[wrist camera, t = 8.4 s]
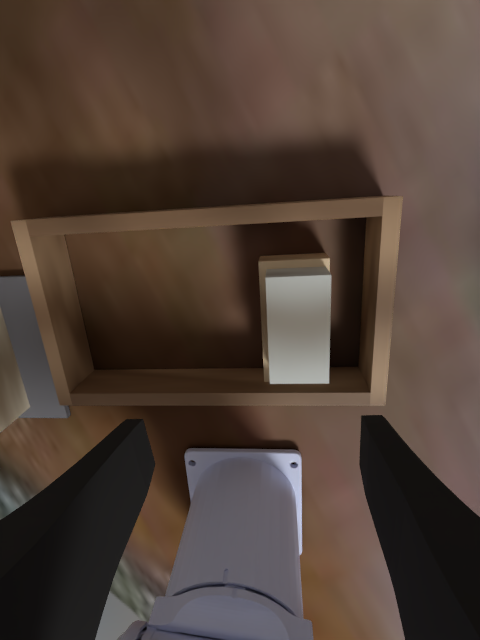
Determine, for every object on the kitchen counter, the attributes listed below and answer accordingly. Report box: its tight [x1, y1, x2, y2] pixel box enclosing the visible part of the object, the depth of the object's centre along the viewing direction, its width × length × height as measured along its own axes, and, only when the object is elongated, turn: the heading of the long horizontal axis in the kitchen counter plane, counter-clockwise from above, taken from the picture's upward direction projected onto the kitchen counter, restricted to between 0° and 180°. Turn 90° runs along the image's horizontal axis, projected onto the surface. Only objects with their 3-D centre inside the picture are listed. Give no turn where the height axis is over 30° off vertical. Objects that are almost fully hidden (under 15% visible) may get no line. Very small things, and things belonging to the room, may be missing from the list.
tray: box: [11, 196, 403, 406], centre depth 20 cm, size 11×19×3 cm, turn 94°
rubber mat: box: [0, 275, 71, 418], centre depth 23 cm, size 10×7×1 cm
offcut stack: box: [258, 253, 331, 384], centre depth 19 cm, size 7×4×4 cm, turn 4°
